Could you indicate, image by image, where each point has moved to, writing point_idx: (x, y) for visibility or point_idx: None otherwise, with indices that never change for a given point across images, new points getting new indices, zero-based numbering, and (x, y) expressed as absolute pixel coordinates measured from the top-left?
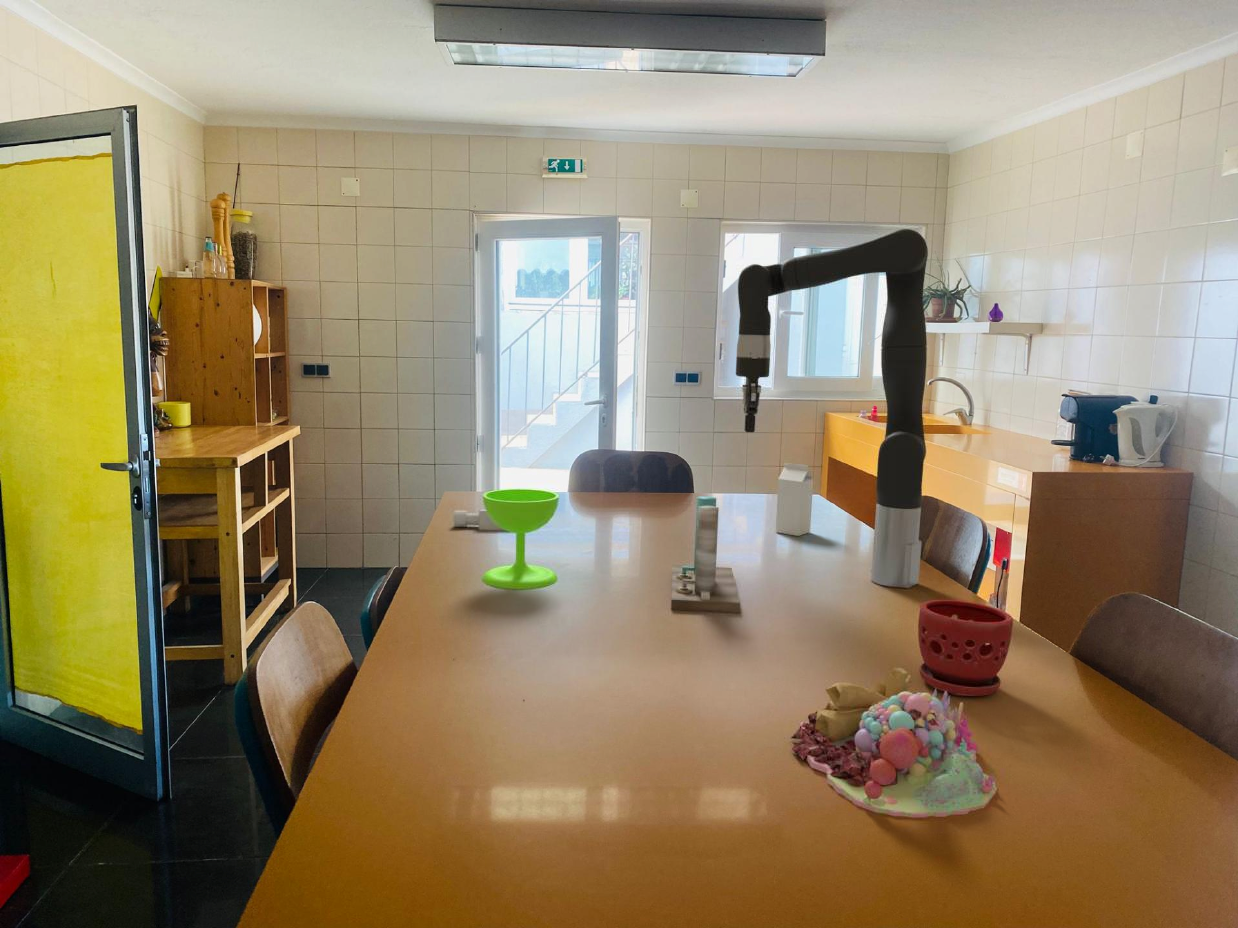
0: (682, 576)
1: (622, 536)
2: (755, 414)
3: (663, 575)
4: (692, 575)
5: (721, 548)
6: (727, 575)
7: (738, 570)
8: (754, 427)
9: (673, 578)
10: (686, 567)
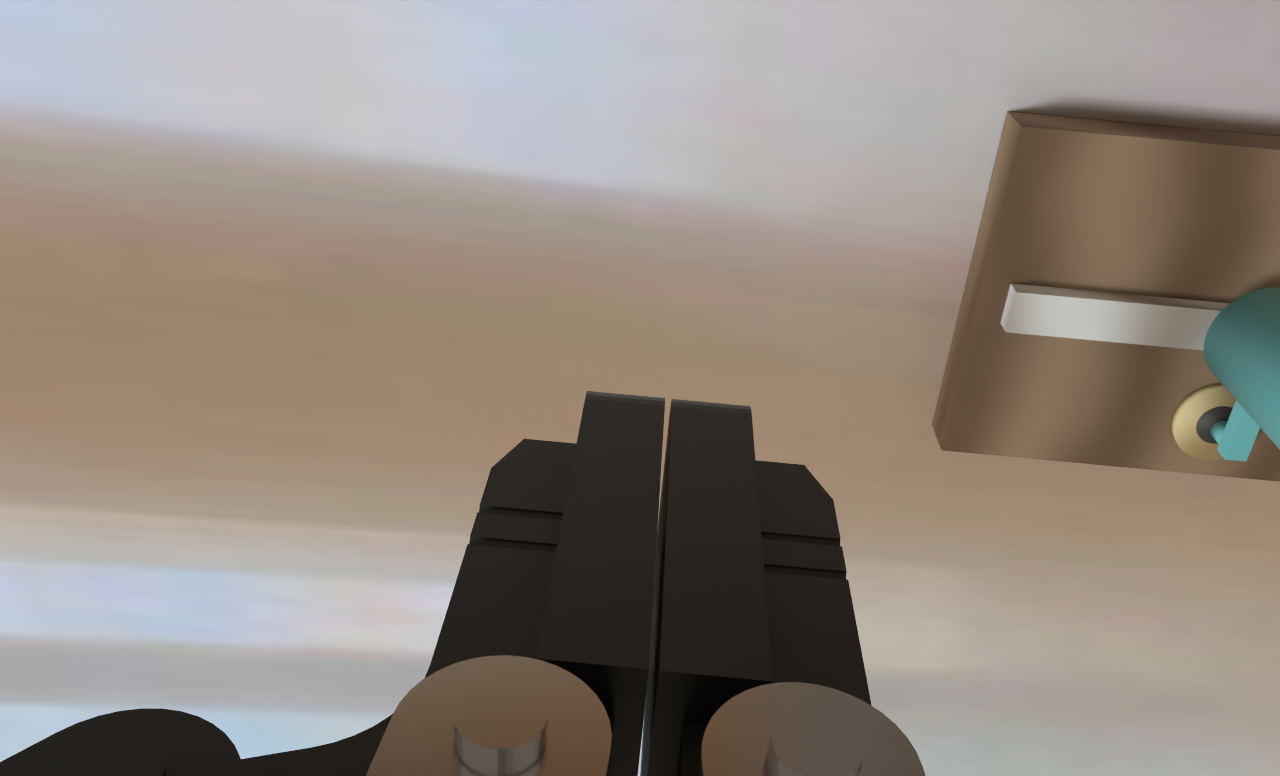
0: None
1: (131, 596)
2: (898, 762)
3: (958, 465)
4: (1172, 372)
5: (268, 67)
6: (1202, 179)
7: (856, 38)
8: (753, 463)
9: (1219, 469)
10: (1253, 442)
